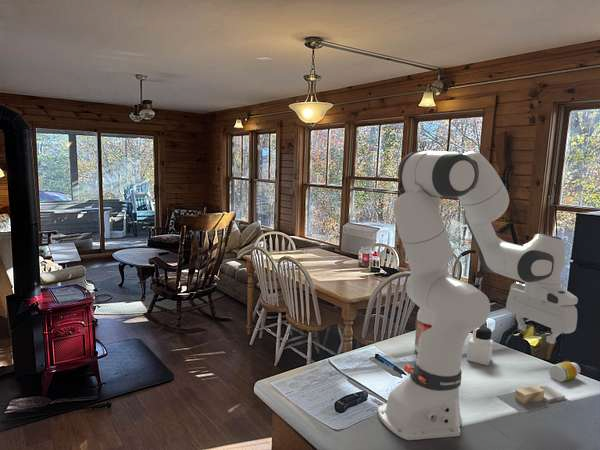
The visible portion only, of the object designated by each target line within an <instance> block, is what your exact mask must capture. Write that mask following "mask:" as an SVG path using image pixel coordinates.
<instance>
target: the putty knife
mask: <svg viewBox="0 0 600 450" xmlns="http://www.w3.org/2000/svg"><path fill="white" fill-rule="evenodd" d="M515 392H516V393H515V400H517V401H518V402H520V403H522V404H523V405H524V404H529V403H533V402H537V401H542V400H544V401H546V402H547V403H549V402H554V401H558V400H562V399H565V398H566V395H565V394H563V393H561V392H559V391H557V390H556V389H554V388H552V387H550V386H548V385H543V387H541V386H537V385H532V386H531V385H530V386H526V387H522V388H518V389H515Z"/></svg>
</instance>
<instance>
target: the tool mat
mask: <svg viewBox="0 0 600 450" xmlns="http://www.w3.org/2000/svg"><path fill="white" fill-rule="evenodd" d="M543 386H544V385H543ZM543 386H542V385H541V386H540V387H543ZM515 393H516V391H514V392H509V393H505V394H500V395H496V396H495V397H496V398H497V399H499V400H500V401H502V402H504V403H505V404H507V405H508V406H509V407H511V408H513V410H516V411H517V412H519V413H520V414H525V413H529V412H533V411H537V410H541V409H545V408H546V409H547V408H549V407H550V408H551V407H554V406H557V405H561V404H565V403H570V402H572V401H571V399H570V400H569V399H568V398H567V397H565V399H562V400H558V401H554V402H549V403H547V402H546V401H544V400H542V401H537V402H533V403H529V404H524V405H523V404H522V403H520V402H518V401H517V400H515Z"/></svg>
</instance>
